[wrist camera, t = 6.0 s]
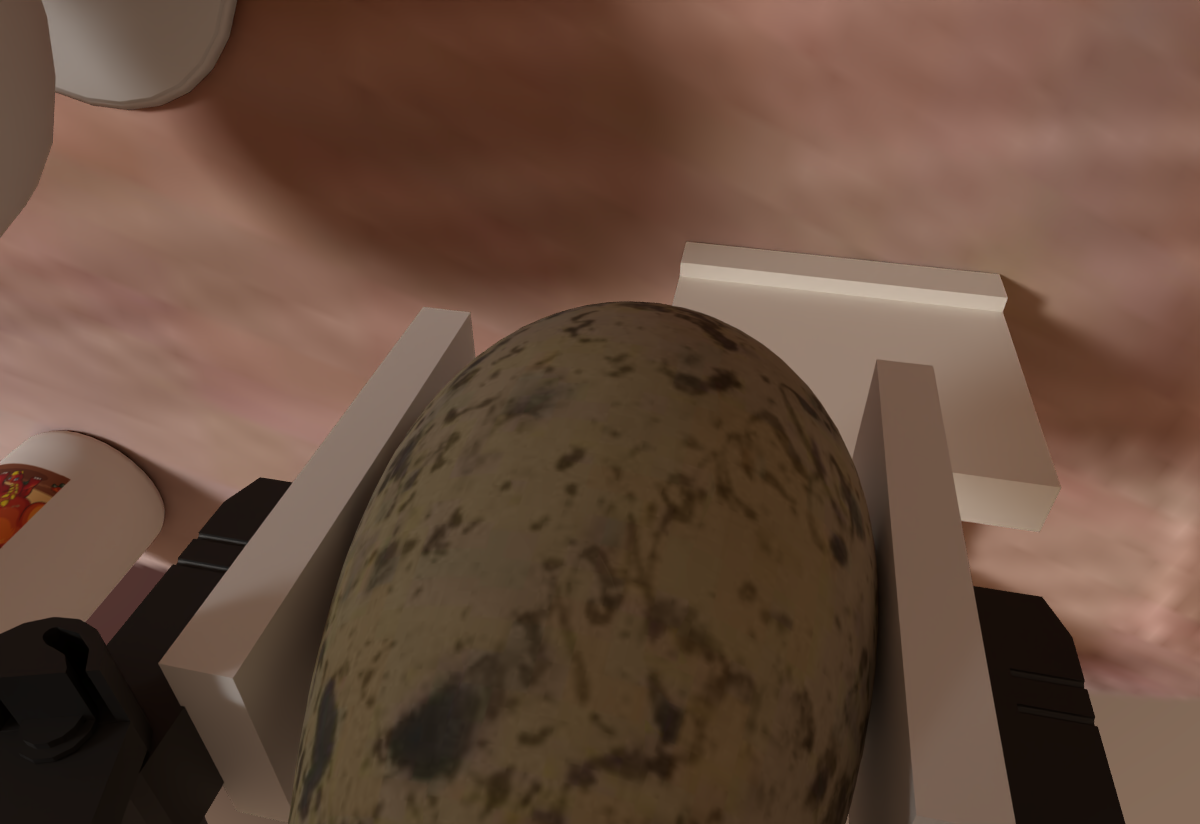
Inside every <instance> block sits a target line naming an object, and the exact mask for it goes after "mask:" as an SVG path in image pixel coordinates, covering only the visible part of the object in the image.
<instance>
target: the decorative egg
mask: <svg viewBox="0 0 1200 824" xmlns="http://www.w3.org/2000/svg"><path fill="white" fill-rule="evenodd" d="M878 619H879V594H878V572H877V562H876V553H875V545H874V539H873V533H872V527H871V521H870V516H869V512H868V507H867V503H866V499H865V495H864V492H863V489H862V486H861V483H860V479H859V476H858V473H857V470H856V467H855V465H854V463H853V460H852V458H851V456H850V454H849V452H848V449H847V447H846V445H845V443H844V441H843V439H842V437H841V435H840V432H839V430H838V428H837V427H836V425H835V424H834V422H833V421H832V419H831V418H830V416H829V414H828V413H827V411H826V410H825V408H824V407H823V405H822V404H821V402H820V401H819V399H818V398H817V397H816V395H815V394H814V393H813V392H812V390H811V389H810V388H809V386H808V385H807V384H806V383H805V382H804V381H803V380H802V379H801V378H800V377H799V376H798V375H797V374H796V373H795V372H794V371H793V370H792V369H791V368H790V367H789V366H788V365H787V364H786V363H785V362H784V361H783V360H782V359H781V358H780V357H778V356H777V355H776V354H775V353H773V352H772V351H771V350H770V349H768V348H767V347H766V346H765V345H763V344H762V343H760V342H759V341H757V340H756V339H754V338H752V337H751V336H749V335H748V334H746V333H744V332H743V331H741V330H739V329H737V328H735V327H733V326H731V325H729V324H727V323H725V322H723V321H721V320H719V319H716V318H714V317H711V316H709V315H706V314H703V313H700V312H697V311H694V310H690V309H687V308H683V307H677V306H671V305H666V304H661V303H649V302H631V301H630V302H607V303H599V304H592V305H586V306H582V307H578V308H573V309H569V310H566V311H562V312H559V313H556V314H553V315H550V316H548V317H545V318H543V319H540V320H538V321H536V322H533V323H531V324H529V325H526V326H524V327H522V328H520V329H519V330H517V331H515V332H514V333H512V334H510V335H508V336H507V337H505V338H503V339H501V340H500V341H498V342H497V343H495V344H494V345H493V346H491V347H490V348H488V349H487V350H486V351H484V352H483V353H481V354H480V355H479V356H477V357H476V358H474V359H473V360H472V361H471V362H470V363H469V364H468V365H466V366H465V367H464V368H463V369H462V370H461V371H460V372H458V373H457V374H456V375H455V376H454V377H453V378H452V379H451V380H450V381H449V382H448V383H447V384H446V385H445V386H444V388H443V389H442V390H441V391H440V392H439V393H438V394H437V395H436V396H435V397H434V398H433V400H432V401H431V402H430V403H429V404H428V406H427V407H426V408H425V409H424V410H423V412H422V413H421V414H420V416H419V417H418V418H417V420H416V421H415V423H414V424H413V425H412V427H411V428H410V430H409V431H408V433H407V434H406V436H405V437H404V439H403V440H402V442H401V443H400V445H399V447H398V448H397V450H396V451H395V453H394V454H393V456H392V458H391V460H390V462H389V464H388V465H387V467H386V469H385V471H384V473H383V475H382V477H381V479H380V481H379V483H378V484H377V486H376V488H375V490H374V492H373V494H372V497H371V499H370V501H369V503H368V506H367V508H366V510H365V512H364V515H363V517H362V519H361V521H360V523H359V526H358V528H357V531H356V533H355V536H354V538H353V541H352V543H351V546H350V548H349V551H348V554H347V557H346V559H345V562H344V565H343V568H342V570H341V573H340V577H339V580H338V583H337V586H336V589H335V592H334V596H333V599H332V602H331V606H330V609H329V613H328V617H327V620H326V624H325V628H324V632H323V635H322V639H321V643H320V647H319V650H318V654H317V659H316V663H315V668H314V672H313V677H312V681H311V686H310V691H309V695H308V701H307V706H306V712H305V718H304V723H303V728H302V733H301V738H300V744H299V751H298V757H297V763H296V770H295V776H294V784H293V792H292V800H291V808H290V813H289V819H288V824H845V823H846V820H847V816H848V813H849V809H850V806H851V802H852V798H853V794H854V790H855V786H856V781H857V776H858V772H859V767H860V763H861V759H862V756H863V750H864V744H865V738H866V732H867V726H868V721H869V715H870V709H871V703H872V695H873V686H874V679H875V671H876V654H877V638H878Z"/></svg>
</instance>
